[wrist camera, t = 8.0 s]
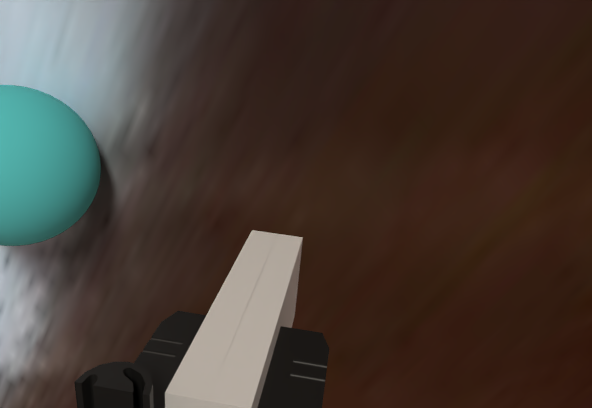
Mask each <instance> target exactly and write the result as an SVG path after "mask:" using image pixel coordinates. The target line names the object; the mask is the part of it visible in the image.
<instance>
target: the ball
mask: <svg viewBox="0 0 592 408" xmlns="http://www.w3.org/2000/svg"><path fill="white" fill-rule="evenodd" d="M100 174H101V163H100V155H99V151H98V147H97V144H96V141H95V139H94V137H93V135H92V133H91V131H90V130H89V128H88V127H87V125H86V124H85V122H84V121H83V120H82V119H81V118H80V117H79V115H78V114H77V113H75V112H74V111H73V110H72V109H71V108H70V107H69V106H67V105H66V104H64V103H63V102H61V101H60V100H58V99H56V98H54V97H52V96H51V95H49V94H46V93H43V92H41V91H38V90H35V89H31V88H27V87H22V86H15V85H0V245H4V246H20V245H29V244H34V243H38V242H42V241H45V240H47V239H50V238H53V237H55V236H57V235H58V234H60V233H62V232H64V231H65V230H67V229H68V228H70V227H71V226H72V225H73V224H75V223H76V222H77V221H78V220H79V219H80V218H81V217H82V216H83V215H84V213H85V212H86V211H87V210H88V208H89V206H90V205H91V203H92V202H93V199H94V197H95V195H96V193H97V190H98V186H99V182H100Z"/></svg>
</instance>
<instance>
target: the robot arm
mask: <svg viewBox="0 0 592 408" xmlns="http://www.w3.org/2000/svg"><path fill="white" fill-rule="evenodd" d="M302 239H303V238H302V237H296V236H289V235H282V234H275V233H268V232H261V231H254V230H252V232H251V233H250V235H249V237H248V239H247V241H246V243H245V245H244V246H243V248H242V250H241V252H240V254H239V256H238V258H237V259H236V261H235V263H234V265H233V267H232V269H231V271H230V273H229V274H228V276H227V278H226V280H225V282H224V284H223V286H222V287H221V289H220V291H219V293H218V295H217V297H216V299H215V300H214V302H213V304H212V306H211V308H210V310H209V312H208V314H207V315H200V314H194V313H188V312H182V311H177V312H176V313H174V314H173V315H171V316H170V317H168V318H167V319H165V320H164V321H163V322H161V324H160V325H159V327H158V328H157V330H156V331H155V333H154V334H153V336H152V338H151V340H149V342H148V343H147V345H146V346H145V348H144V349H143V352H141V354H140V355H139V357H138V358H137V360H136V361H135V363H134V364H133V363H130V362H112V363H107V364H103V365H99V366H97V367H95V368H93V369H91V370H89V371H87V372H85V373H84V374H83V375H82V376H81V377H79V378H78V379H77V380H76V381H75V390H76V399H77V408H322V401H323V393H324V386H325V378H326V370H327V362H328V354H329V347H328V345H327V343H326V340H325V338H324V336H323V334H322V333H319V332H313V331H307V330H300V329H294V328H292V324H293V320H294V316H295V307H296V297H297V287H298V278H299V268H300V259H301V249H302Z"/></svg>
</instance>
